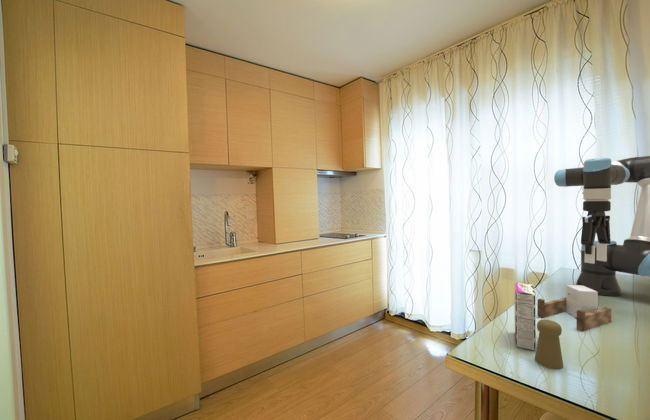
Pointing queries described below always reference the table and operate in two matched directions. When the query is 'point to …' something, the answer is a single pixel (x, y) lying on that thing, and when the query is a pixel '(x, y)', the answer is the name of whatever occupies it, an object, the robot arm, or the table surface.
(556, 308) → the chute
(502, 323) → the table surface
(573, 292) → the small box
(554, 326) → the cork
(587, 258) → the robot arm
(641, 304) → the table surface
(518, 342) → the candy bar box
